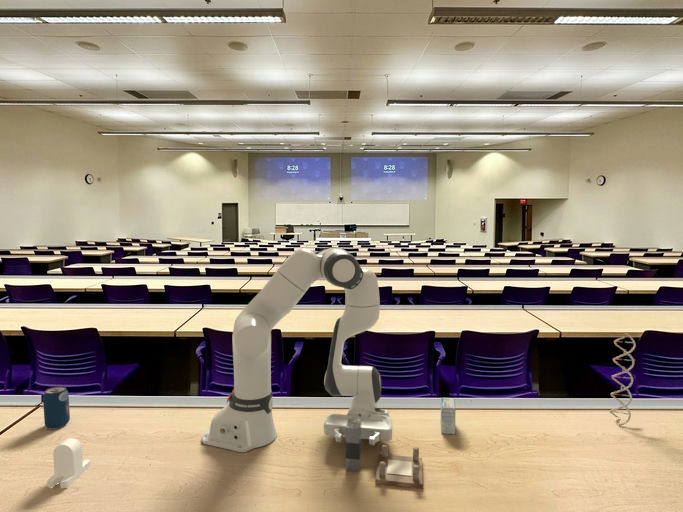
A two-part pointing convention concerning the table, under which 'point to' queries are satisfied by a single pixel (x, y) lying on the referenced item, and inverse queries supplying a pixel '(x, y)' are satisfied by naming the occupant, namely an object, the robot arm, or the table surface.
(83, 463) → the cable organizer
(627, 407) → the dna model
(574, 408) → the table surface
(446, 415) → the medicine box
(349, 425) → the grey rectangular block
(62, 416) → the soda can
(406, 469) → the peg cradle
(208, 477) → the table surface
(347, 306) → the robot arm
